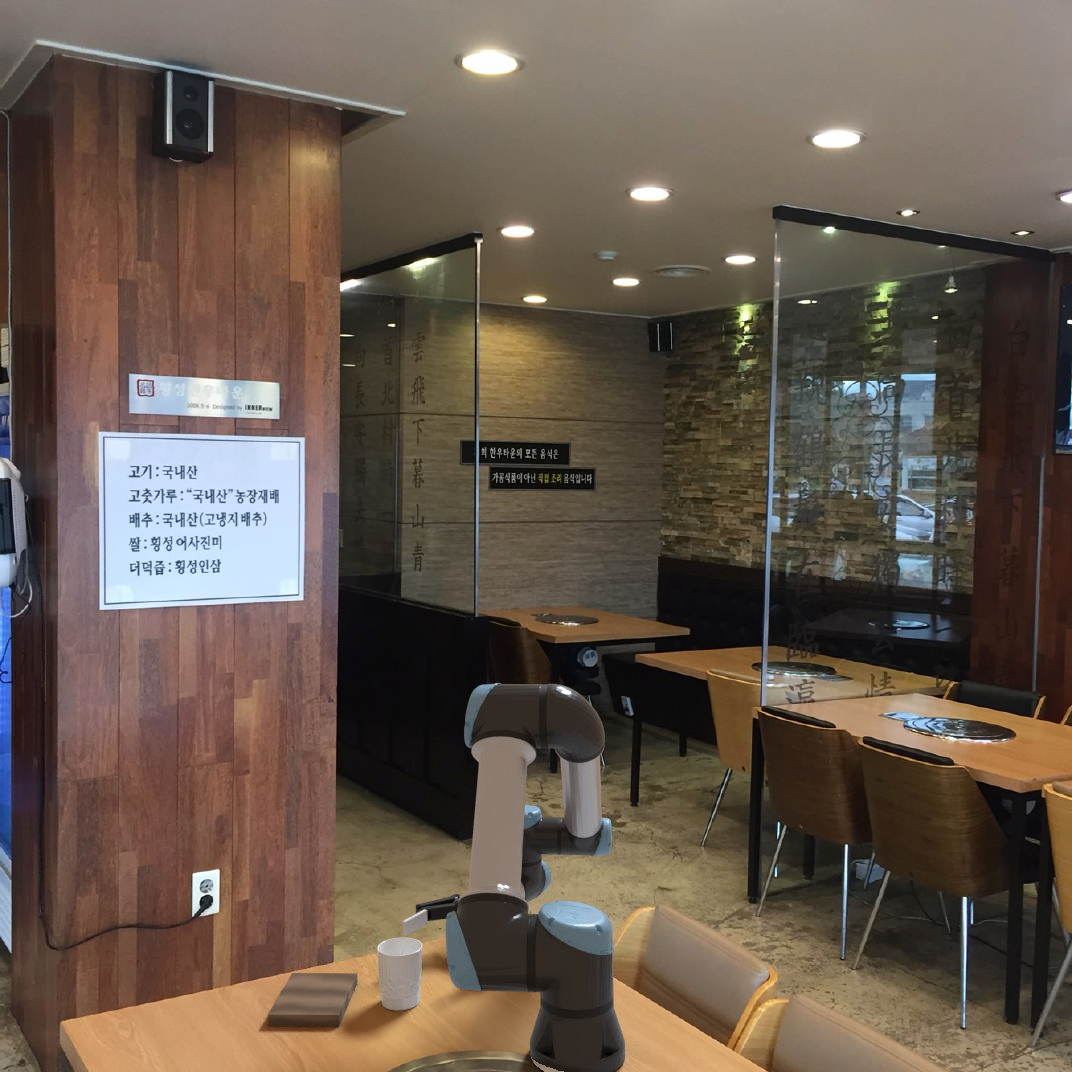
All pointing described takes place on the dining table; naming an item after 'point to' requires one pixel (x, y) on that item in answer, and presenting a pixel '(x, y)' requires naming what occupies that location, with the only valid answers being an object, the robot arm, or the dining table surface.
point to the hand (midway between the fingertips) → (433, 936)
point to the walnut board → (313, 999)
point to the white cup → (400, 972)
